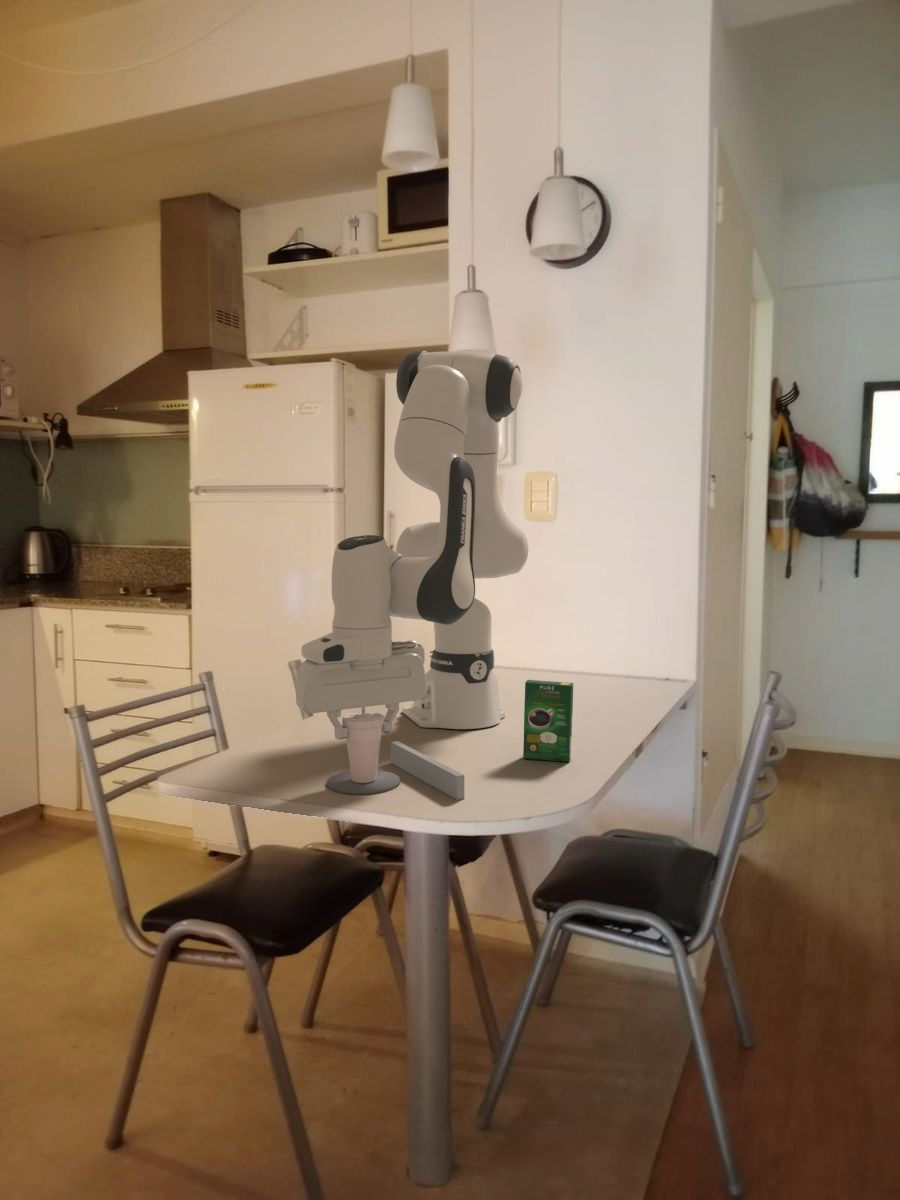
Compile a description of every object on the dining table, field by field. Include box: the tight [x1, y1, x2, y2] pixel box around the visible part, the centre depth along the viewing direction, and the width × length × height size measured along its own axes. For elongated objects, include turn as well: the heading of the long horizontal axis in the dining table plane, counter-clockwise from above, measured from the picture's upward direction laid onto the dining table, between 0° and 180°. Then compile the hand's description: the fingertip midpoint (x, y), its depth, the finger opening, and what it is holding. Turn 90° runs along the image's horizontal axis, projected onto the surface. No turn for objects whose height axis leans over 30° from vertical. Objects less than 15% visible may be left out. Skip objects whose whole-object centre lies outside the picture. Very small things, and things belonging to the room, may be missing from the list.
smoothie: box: [341, 707, 385, 783], centre depth 136 cm, size 6×6×14 cm
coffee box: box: [522, 679, 574, 763], centre depth 149 cm, size 8×3×13 cm, turn 75°
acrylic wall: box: [390, 740, 465, 801], centre depth 138 cm, size 22×1×4 cm, turn 29°
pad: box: [326, 769, 401, 796], centre depth 137 cm, size 11×11×1 cm
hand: (363, 735), depth 136 cm, fingers closed on smoothie, 6 cm apart
